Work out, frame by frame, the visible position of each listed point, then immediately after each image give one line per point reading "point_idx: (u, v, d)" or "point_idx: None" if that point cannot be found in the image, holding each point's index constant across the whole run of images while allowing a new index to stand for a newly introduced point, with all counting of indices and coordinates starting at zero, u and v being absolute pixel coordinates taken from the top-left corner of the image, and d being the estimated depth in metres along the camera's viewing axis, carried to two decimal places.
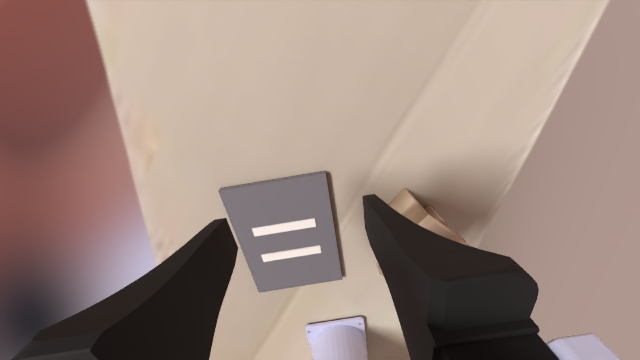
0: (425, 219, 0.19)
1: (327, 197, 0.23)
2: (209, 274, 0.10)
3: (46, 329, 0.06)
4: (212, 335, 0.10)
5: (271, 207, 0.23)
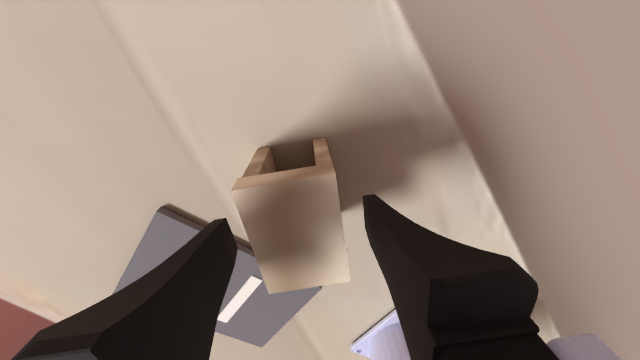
0: None
1: (191, 230, 0.17)
2: (209, 274, 0.10)
3: (46, 329, 0.06)
4: (212, 335, 0.10)
5: None
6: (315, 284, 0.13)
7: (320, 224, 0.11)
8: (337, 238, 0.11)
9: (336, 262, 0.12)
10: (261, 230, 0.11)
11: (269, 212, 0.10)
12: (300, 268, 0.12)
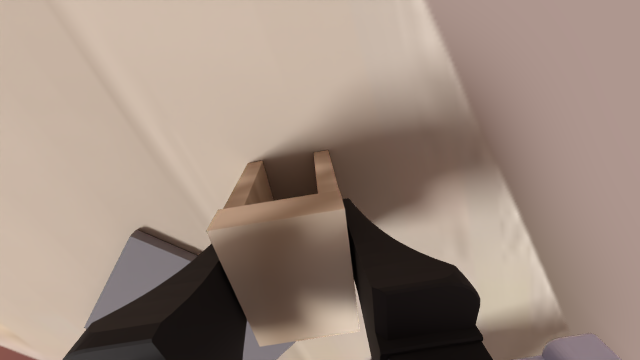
0: None
1: (172, 256, 0.15)
2: None
3: (98, 321, 0.06)
4: (244, 330, 0.10)
5: None
6: (317, 334, 0.10)
7: (324, 269, 0.09)
8: (345, 284, 0.09)
9: (343, 311, 0.10)
10: (248, 277, 0.08)
11: (257, 256, 0.08)
12: (298, 318, 0.10)
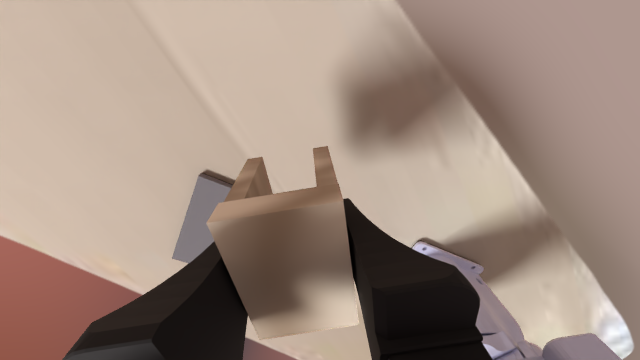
0: None
1: (228, 189, 0.21)
2: None
3: (98, 321, 0.06)
4: (244, 330, 0.10)
5: (211, 235, 0.23)
6: (316, 328, 0.10)
7: (323, 262, 0.09)
8: (344, 277, 0.09)
9: (342, 304, 0.10)
10: (248, 269, 0.09)
11: (257, 248, 0.08)
12: (298, 311, 0.10)
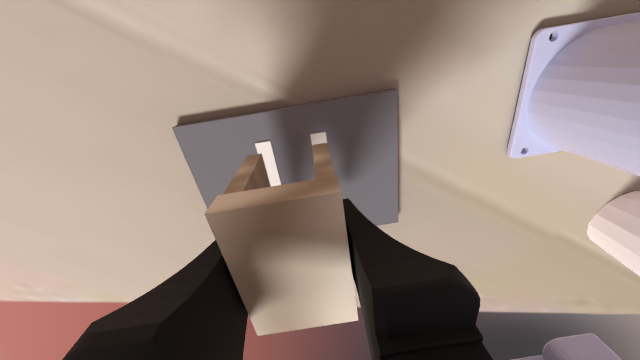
0: None
1: (213, 123, 0.15)
2: None
3: (98, 321, 0.06)
4: (244, 330, 0.10)
5: None
6: (315, 323, 0.10)
7: (321, 254, 0.09)
8: (343, 270, 0.09)
9: (341, 298, 0.10)
10: (246, 262, 0.09)
11: (255, 240, 0.08)
12: (296, 306, 0.10)
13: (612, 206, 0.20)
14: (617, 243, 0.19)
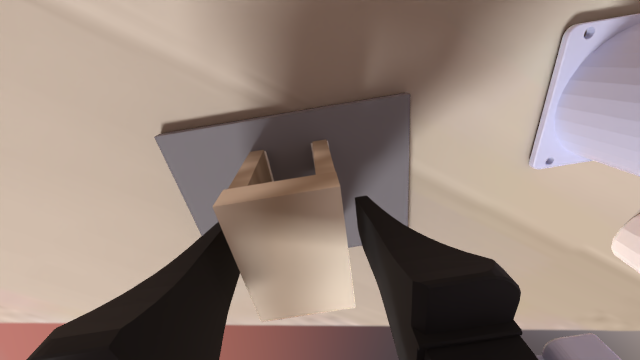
0: None
1: (201, 132, 0.13)
2: (218, 273, 0.10)
3: (62, 327, 0.06)
4: (222, 333, 0.10)
5: None
6: (315, 310, 0.11)
7: (321, 245, 0.09)
8: (341, 260, 0.10)
9: (340, 287, 0.10)
10: (250, 252, 0.09)
11: (260, 231, 0.09)
12: (297, 294, 0.10)
13: None
14: None
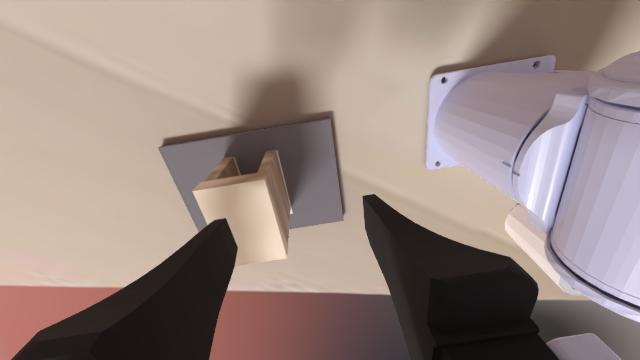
0: None
1: (190, 144, 0.19)
2: (209, 274, 0.10)
3: (46, 329, 0.06)
4: (212, 335, 0.10)
5: None
6: (261, 259, 0.17)
7: (258, 215, 0.15)
8: (272, 225, 0.16)
9: (274, 243, 0.17)
10: (216, 219, 0.15)
11: (220, 206, 0.15)
12: (248, 247, 0.17)
13: (520, 207, 0.24)
14: (520, 237, 0.24)
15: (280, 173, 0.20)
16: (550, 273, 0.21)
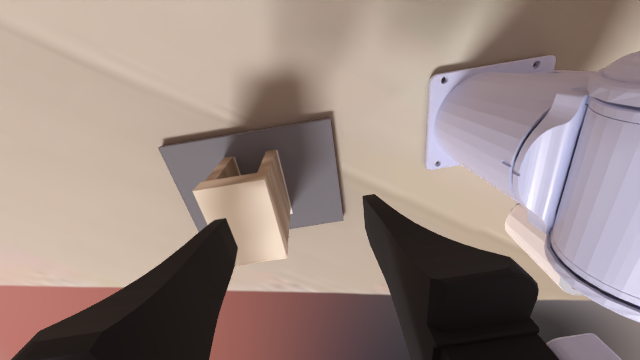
0: None
1: (190, 144, 0.19)
2: (209, 274, 0.10)
3: (46, 329, 0.06)
4: (212, 335, 0.10)
5: None
6: (261, 259, 0.17)
7: (258, 215, 0.15)
8: (272, 225, 0.16)
9: (274, 243, 0.17)
10: (216, 219, 0.15)
11: (221, 206, 0.15)
12: (248, 247, 0.17)
13: (519, 207, 0.24)
14: (520, 237, 0.24)
15: (280, 173, 0.20)
16: (550, 273, 0.21)
